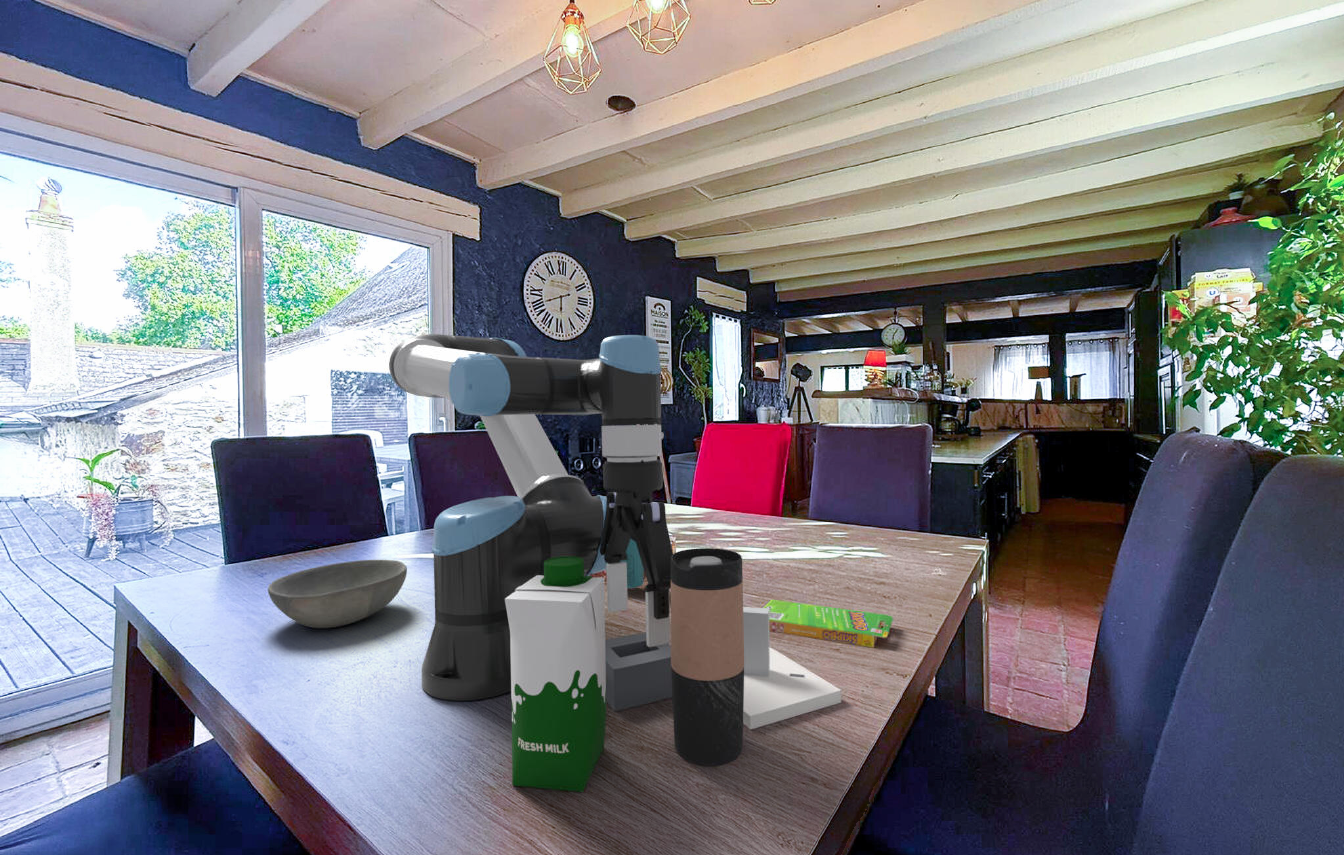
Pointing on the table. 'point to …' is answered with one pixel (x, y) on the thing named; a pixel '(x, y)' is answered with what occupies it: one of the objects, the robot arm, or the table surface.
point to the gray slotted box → (636, 672)
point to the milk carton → (557, 676)
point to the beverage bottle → (634, 566)
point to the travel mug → (707, 655)
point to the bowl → (338, 592)
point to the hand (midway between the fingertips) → (636, 626)
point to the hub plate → (777, 678)
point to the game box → (827, 623)
